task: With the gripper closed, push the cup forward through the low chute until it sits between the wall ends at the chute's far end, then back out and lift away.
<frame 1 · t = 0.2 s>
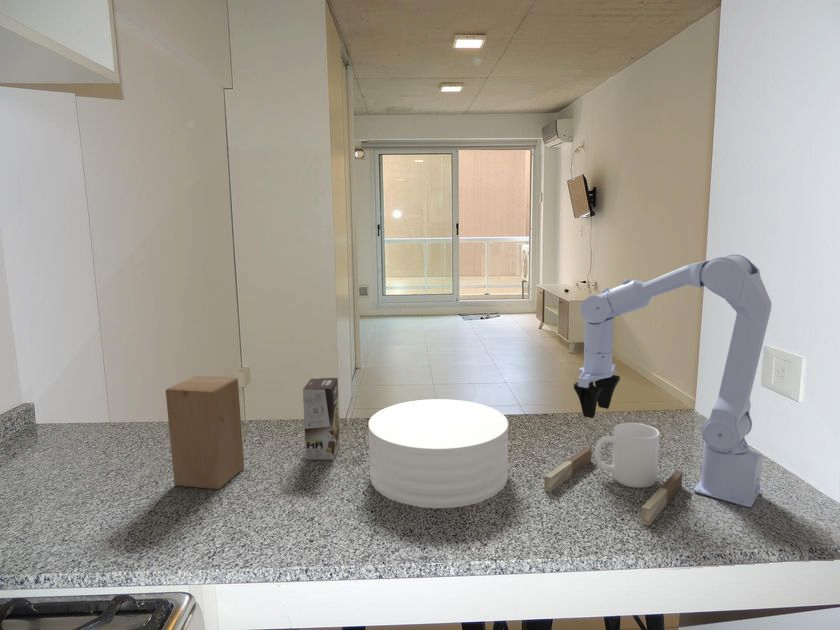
hand: (596, 412, 119), 10 cm above the kitchen counter, fingers open, 7 cm apart
plate stack: (438, 475, 113), on the kitchen counter
cup: (624, 479, 110), on the kitchen counter
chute: (613, 488, 106), on the kitchen counter
coffee box: (324, 452, 125), on the kitchen counter
wooden block: (210, 477, 113), on the kitchen counter
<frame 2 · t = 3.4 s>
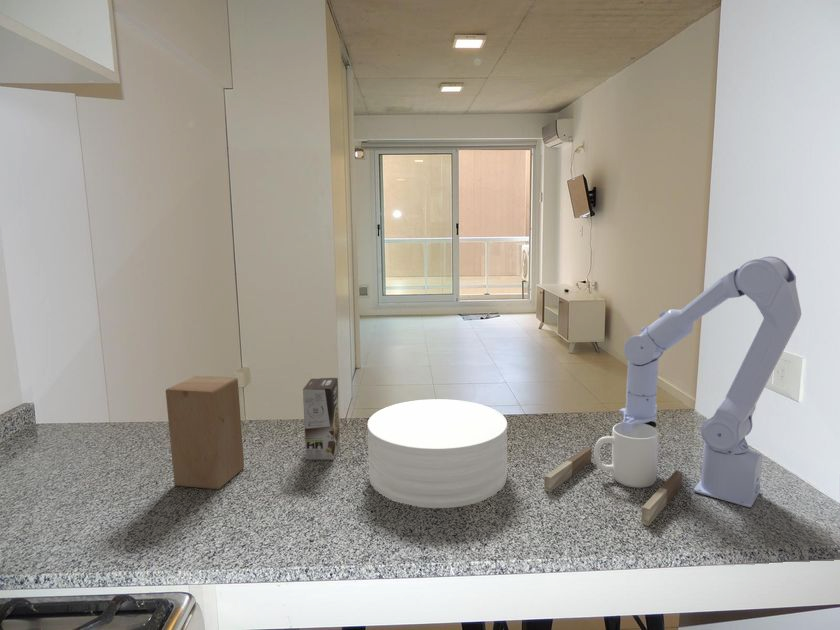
hand: (637, 455, 115), 2 cm above the kitchen counter, fingers closed
cup: (624, 479, 110), on the kitchen counter, touching gripper
everything else where it was.
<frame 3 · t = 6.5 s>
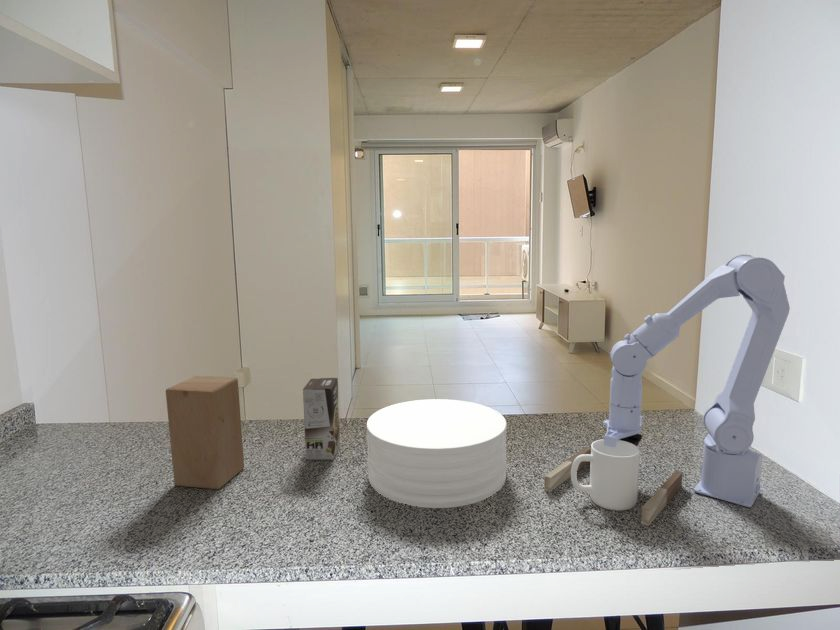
hand: (622, 470, 108), 2 cm above the kitchen counter, fingers closed
cup: (602, 501, 101), on the kitchen counter
everything else where it was.
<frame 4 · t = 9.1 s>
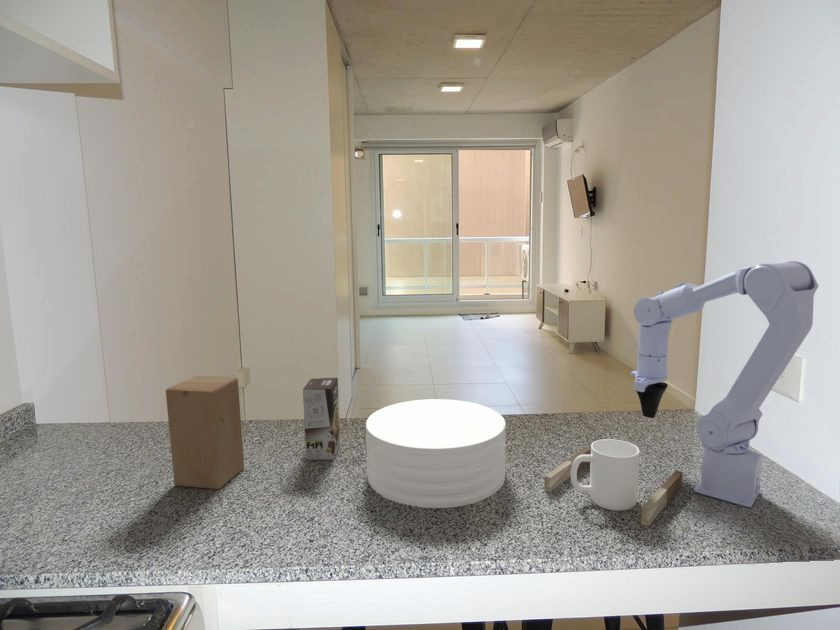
hand: (649, 416, 117), 9 cm above the kitchen counter, fingers closed
nothing on the kitchen counter moved.
at the end: cup inside the target area (0.6 cm from its centre), on the kitchen counter; cup tilted 0°; cup moved 10.9 cm from its start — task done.
